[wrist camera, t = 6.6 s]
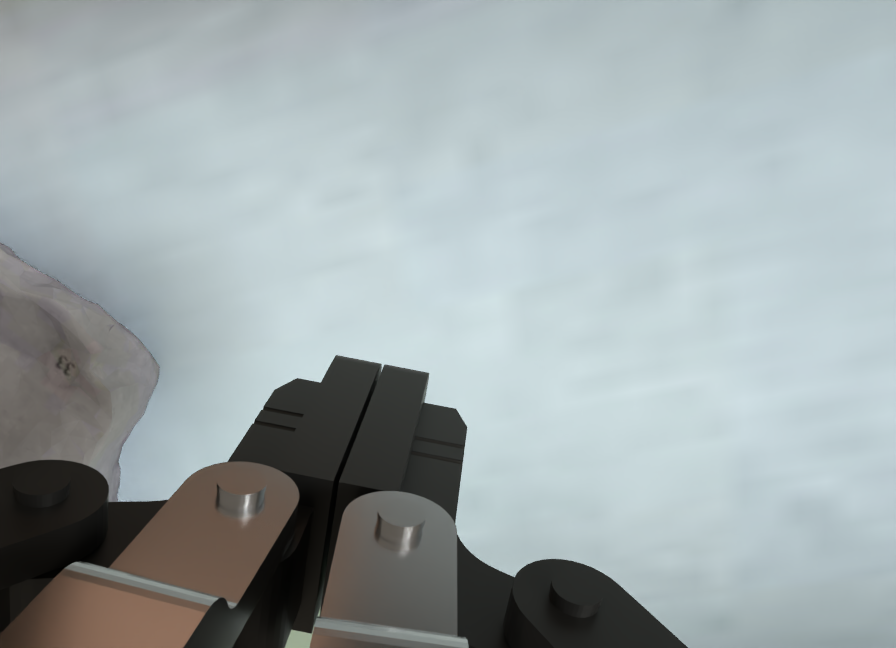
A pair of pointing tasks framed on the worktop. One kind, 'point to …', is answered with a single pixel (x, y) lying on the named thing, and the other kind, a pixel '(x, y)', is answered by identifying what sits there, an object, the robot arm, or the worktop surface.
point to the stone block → (66, 375)
